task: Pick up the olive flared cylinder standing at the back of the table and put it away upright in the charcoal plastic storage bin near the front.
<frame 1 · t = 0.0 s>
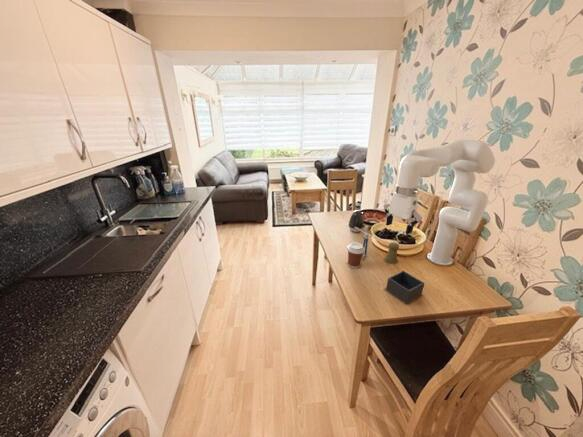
hand: (398, 228, 102), 31 cm above the table, tool pointing down, fingers open, 9 cm apart
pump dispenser: (355, 230, 170), on the table
coffee cup: (353, 264, 132), on the table
olive flared cylinder: (391, 260, 135), on the table
alien figure: (361, 256, 140), on the table
bin: (403, 292, 111), on the table
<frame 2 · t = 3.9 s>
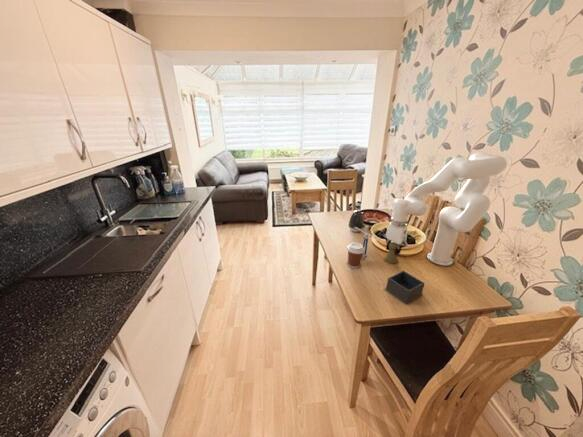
hand: (392, 251, 133), 6 cm above the table, tool pointing down, fingers closed on olive flared cylinder, 5 cm apart
olive flared cylinder: (391, 260, 135), on the table, touching gripper
everything else where it was.
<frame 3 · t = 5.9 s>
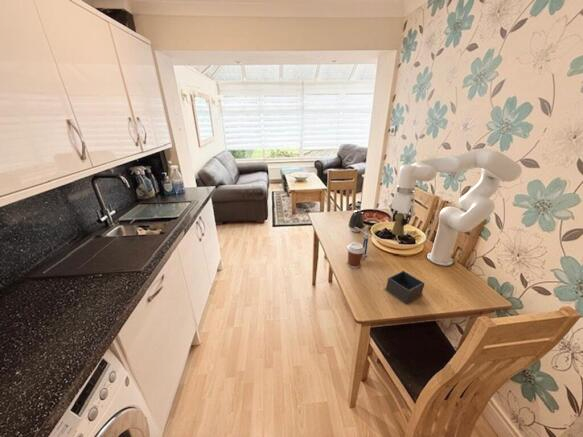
hand: (399, 222, 126), 24 cm above the table, tool pointing down, fingers closed on olive flared cylinder, 5 cm apart
olive flared cylinder: (397, 233, 128), point 17 cm above the table, touching gripper
everything else where it was.
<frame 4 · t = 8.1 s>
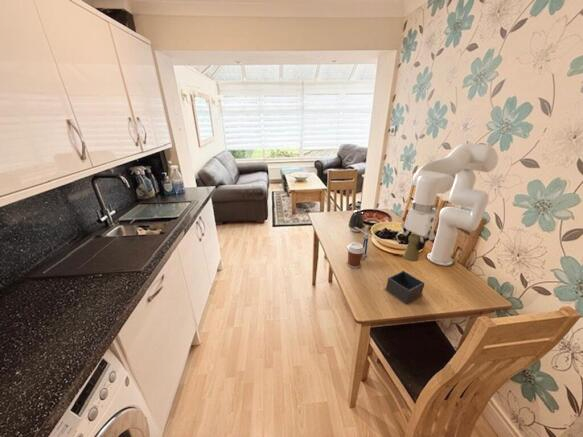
hand: (413, 246, 102), 24 cm above the table, tool pointing down, fingers closed on olive flared cylinder, 5 cm apart
olive flared cylinder: (410, 258, 104), point 18 cm above the table, touching gripper
everything else where it was.
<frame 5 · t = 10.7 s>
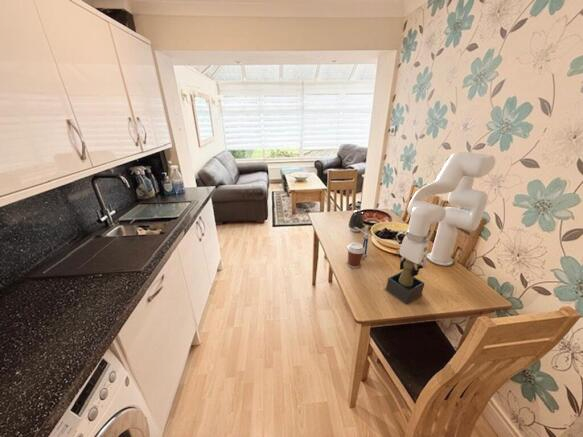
hand: (408, 271, 106), 12 cm above the table, tool pointing down, fingers closed on olive flared cylinder, 5 cm apart
olive flared cylinder: (405, 282, 109), point 6 cm above the table, touching gripper
everything else where it was.
when the fingers open (7 cm above the table, at t = 12.4 s): olive flared cylinder stays where it is, resting on bin.
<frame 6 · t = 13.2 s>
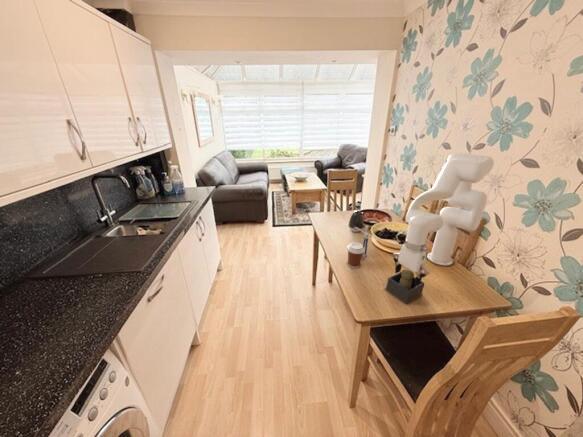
hand: (406, 277, 108), 8 cm above the table, tool pointing down, fingers open, 9 cm apart
olive flared cylinder: (403, 291, 111), point 1 cm above the table, touching bin
everything else where it was.
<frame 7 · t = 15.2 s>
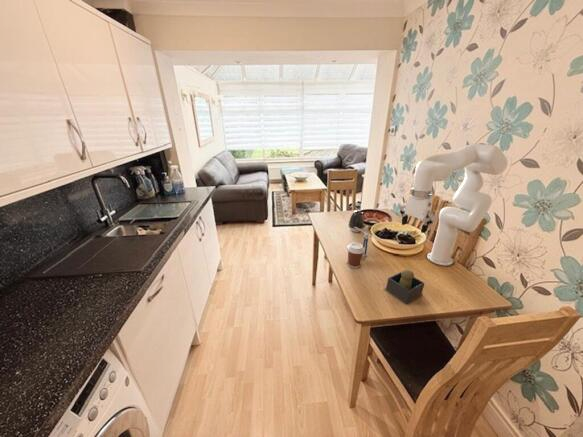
hand: (413, 228, 111), 27 cm above the table, tool pointing down, fingers open, 9 cm apart
nothing on the table moved.
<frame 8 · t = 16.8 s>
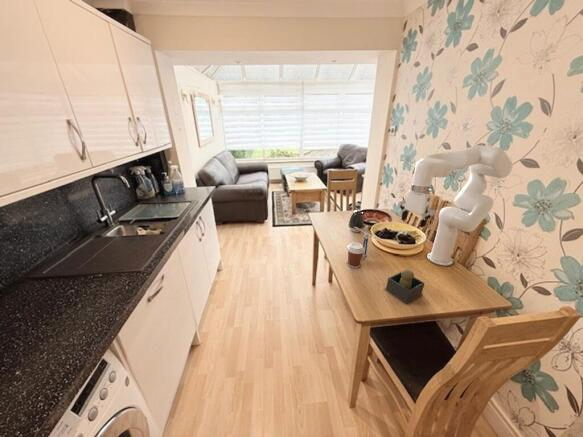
hand: (412, 222, 114), 28 cm above the table, tool pointing down, fingers open, 9 cm apart
nothing on the table moved.
at the end: olive flared cylinder inside the target area in the bin (0.0 cm from its centre), point 0.6 cm above the bin's base; olive flared cylinder tilted 0°; the gripper is holding nothing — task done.
